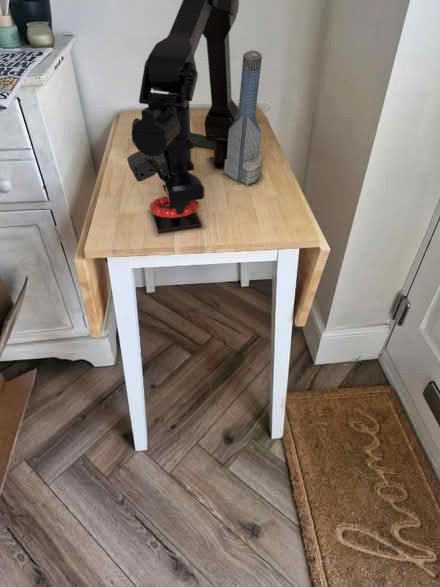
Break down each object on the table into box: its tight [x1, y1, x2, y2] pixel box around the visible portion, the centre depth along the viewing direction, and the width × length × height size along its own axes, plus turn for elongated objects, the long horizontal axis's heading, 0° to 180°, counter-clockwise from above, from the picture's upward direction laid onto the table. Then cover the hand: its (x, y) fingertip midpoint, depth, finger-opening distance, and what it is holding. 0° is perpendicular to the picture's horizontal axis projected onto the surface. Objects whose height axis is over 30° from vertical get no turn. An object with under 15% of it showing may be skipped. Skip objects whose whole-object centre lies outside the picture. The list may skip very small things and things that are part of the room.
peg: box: [150, 202, 202, 235], centre depth 88 cm, size 9×9×8 cm
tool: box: [131, 117, 214, 149], centre depth 117 cm, size 28×6×7 cm, turn 80°
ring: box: [149, 195, 200, 218], centre depth 88 cm, size 10×10×2 cm
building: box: [223, 49, 264, 187], centre depth 96 cm, size 10×9×30 cm
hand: (178, 211), depth 85 cm, fingers closed on ring, 2 cm apart
